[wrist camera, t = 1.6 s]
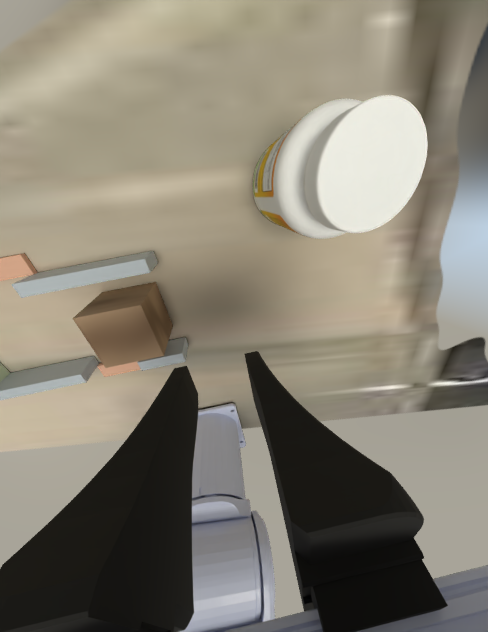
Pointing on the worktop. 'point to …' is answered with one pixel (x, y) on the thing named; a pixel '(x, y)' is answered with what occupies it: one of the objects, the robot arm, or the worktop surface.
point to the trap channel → (79, 370)
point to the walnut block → (126, 325)
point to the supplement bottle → (343, 167)
